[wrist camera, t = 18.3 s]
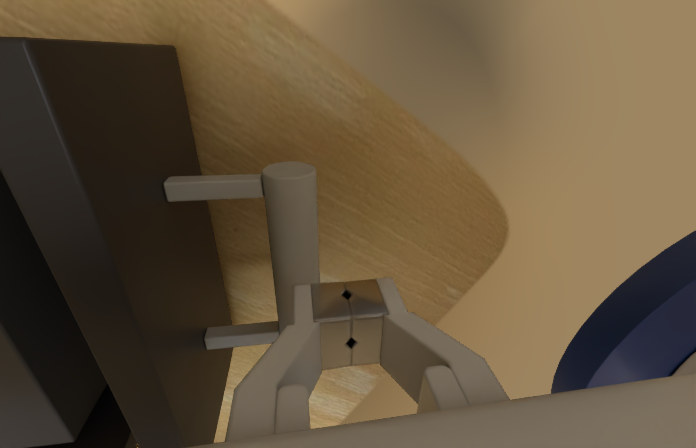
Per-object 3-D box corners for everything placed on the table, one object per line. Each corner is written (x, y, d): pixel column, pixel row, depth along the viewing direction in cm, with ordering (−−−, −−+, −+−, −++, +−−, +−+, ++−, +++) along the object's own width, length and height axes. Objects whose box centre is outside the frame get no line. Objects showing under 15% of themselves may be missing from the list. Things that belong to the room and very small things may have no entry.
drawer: (307, 48, 11) (321, 43, 5) (318, 331, 17) (330, 475, 12) (-395, 35, 9) (-1854, -1, 3) (-90, 370, 15) (-344, 580, 9)
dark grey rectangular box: (76, 139, 11) (-80, 201, 6) (142, 322, 14) (74, 442, 10) (-68, 140, 10) (-350, 209, 6) (40, 331, 14) (-79, 461, 9)
